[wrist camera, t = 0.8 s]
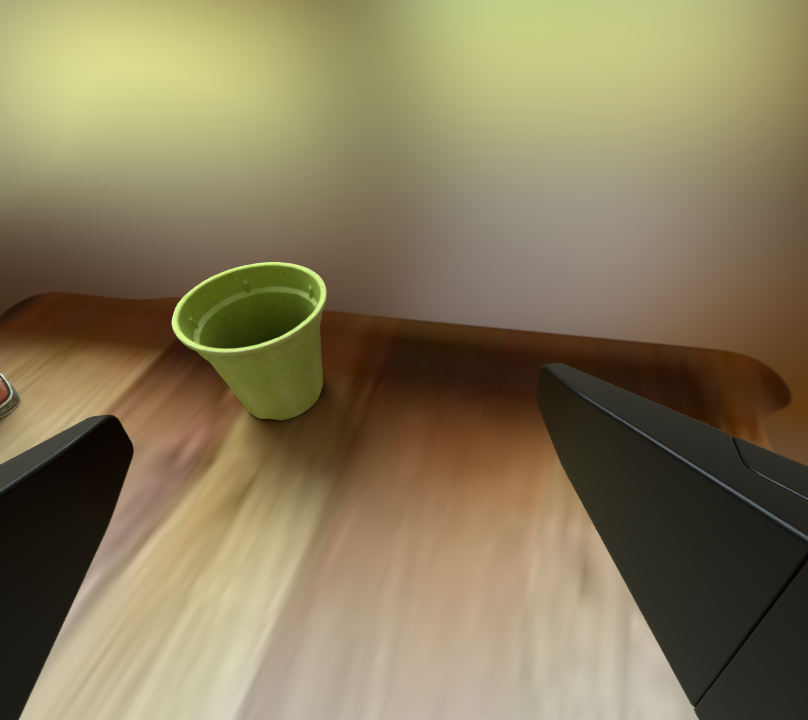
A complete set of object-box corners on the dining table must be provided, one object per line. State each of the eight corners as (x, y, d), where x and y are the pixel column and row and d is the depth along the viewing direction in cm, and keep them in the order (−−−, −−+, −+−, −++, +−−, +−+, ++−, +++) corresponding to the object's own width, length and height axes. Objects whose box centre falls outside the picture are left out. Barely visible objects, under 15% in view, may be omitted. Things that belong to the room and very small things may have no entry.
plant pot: (369, 392, 30) (355, 299, 24) (258, 467, 26) (207, 376, 20) (305, 336, 36) (280, 248, 30) (203, 391, 31) (150, 300, 25)
